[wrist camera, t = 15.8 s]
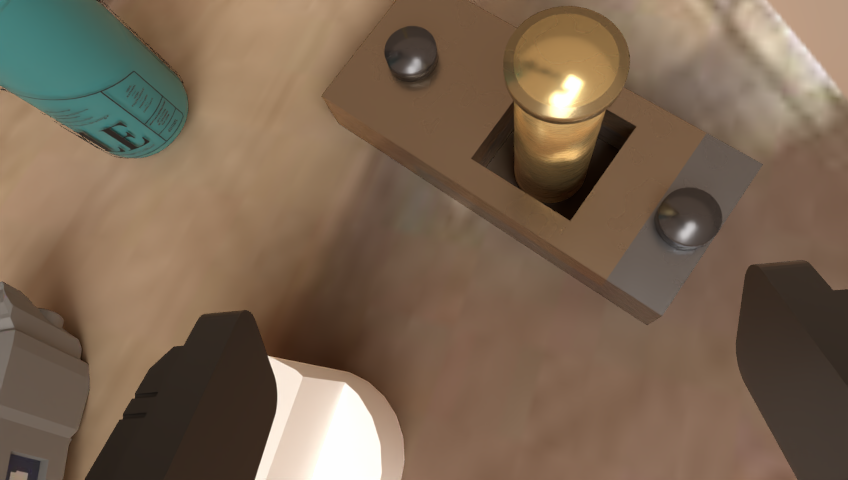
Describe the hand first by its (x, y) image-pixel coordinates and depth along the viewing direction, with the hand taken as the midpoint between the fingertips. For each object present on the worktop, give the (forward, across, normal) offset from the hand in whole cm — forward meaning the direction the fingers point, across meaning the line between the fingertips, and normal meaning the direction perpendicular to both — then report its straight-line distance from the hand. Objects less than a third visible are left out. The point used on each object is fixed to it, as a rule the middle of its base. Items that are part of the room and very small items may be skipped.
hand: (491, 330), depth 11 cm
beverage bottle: (+30, +20, +5) cm, 36 cm away
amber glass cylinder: (+25, -4, +9) cm, 27 cm away
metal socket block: (+26, -3, +8) cm, 27 cm away
